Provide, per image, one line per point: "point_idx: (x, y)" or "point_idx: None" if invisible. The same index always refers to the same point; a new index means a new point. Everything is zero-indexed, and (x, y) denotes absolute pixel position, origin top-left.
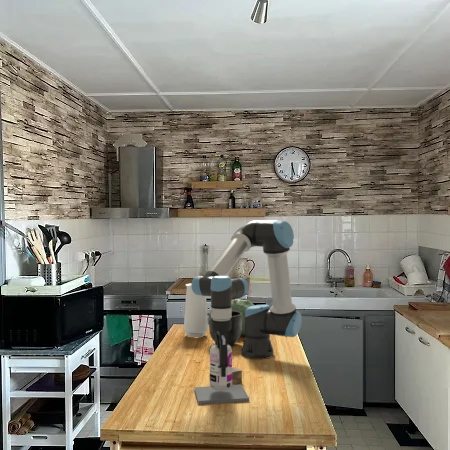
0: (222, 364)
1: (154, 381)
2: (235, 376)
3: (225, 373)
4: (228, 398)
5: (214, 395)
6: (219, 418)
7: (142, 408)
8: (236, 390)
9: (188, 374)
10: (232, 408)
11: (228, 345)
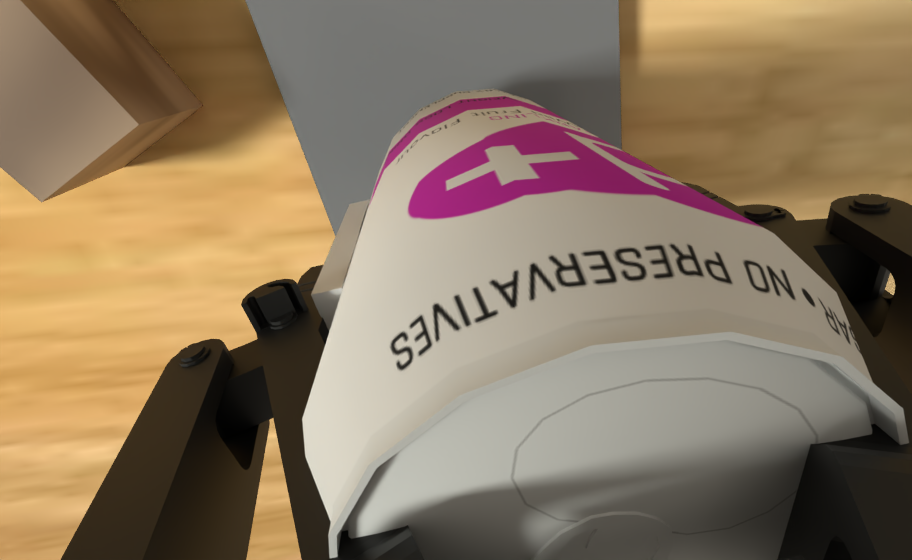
0: (881, 292)
1: (281, 525)
2: (120, 63)
3: (711, 195)
4: (606, 108)
5: None
6: (863, 150)
7: None
8: (417, 41)
9: (88, 416)
10: (725, 65)
11: (443, 402)
